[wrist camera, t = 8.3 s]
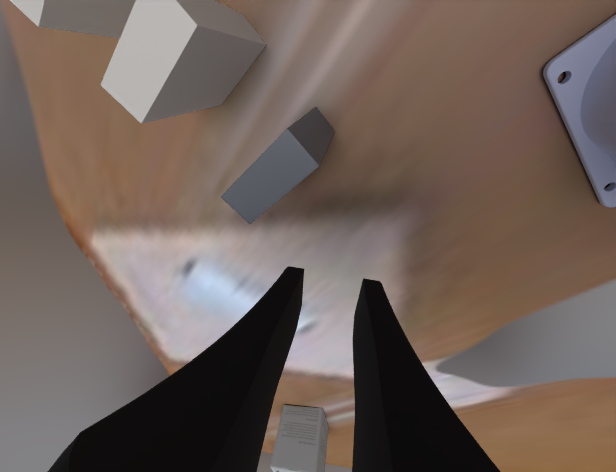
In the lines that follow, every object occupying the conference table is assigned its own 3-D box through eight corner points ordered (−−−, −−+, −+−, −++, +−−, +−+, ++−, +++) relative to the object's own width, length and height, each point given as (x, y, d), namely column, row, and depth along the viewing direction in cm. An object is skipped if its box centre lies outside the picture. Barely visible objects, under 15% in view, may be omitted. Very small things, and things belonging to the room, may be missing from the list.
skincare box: (292, 421, 40) (279, 484, 34) (283, 402, 37) (267, 467, 31) (329, 426, 39) (323, 493, 33) (323, 407, 36) (316, 476, 29)
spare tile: (335, 130, 16) (319, 166, 10) (286, 174, 18) (249, 224, 12) (316, 106, 15) (287, 128, 9) (268, 154, 17) (220, 196, 11)
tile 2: (266, 44, 14) (197, 25, 8) (221, 104, 16) (141, 123, 10) (241, 13, 13) (149, -32, 7) (198, 80, 15) (100, 84, 10)
